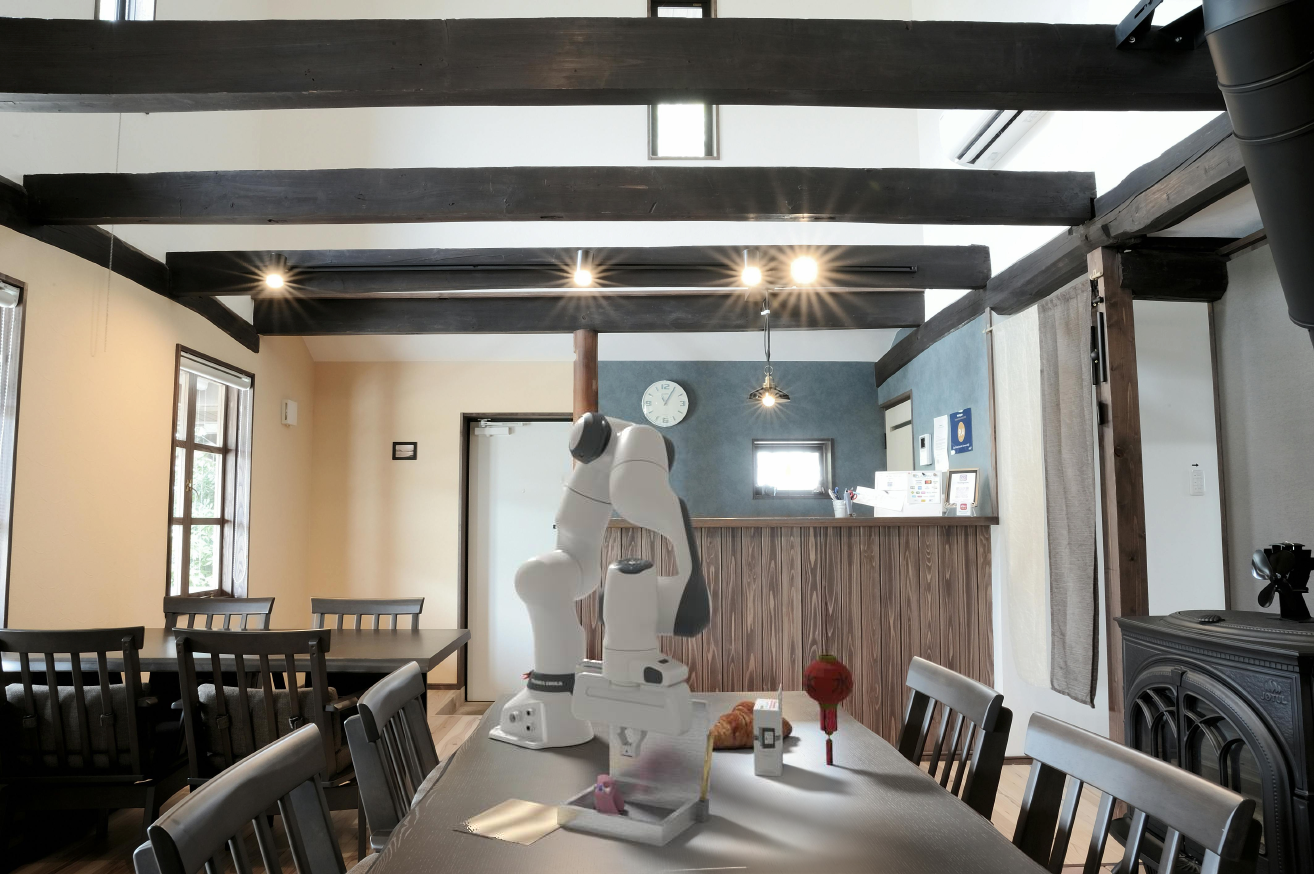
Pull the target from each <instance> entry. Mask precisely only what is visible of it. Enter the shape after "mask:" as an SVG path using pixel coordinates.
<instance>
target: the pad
mask: <svg viewBox="0 0 1314 874" xmlns="http://www.w3.org/2000/svg"><path fill="white" fill-rule="evenodd" d="M467 821H468V822H469V824H468V822H467ZM464 822H466V824H467V825H469V826H468V827H469V828H470V829H471V830H472V831H473V829H474V831H473V833H477V834H480V835H484V836H488V837H496V838H497V839H496V840H500V839H502V840H501V841H504V840H505V841H506V842H509V843H513V842H515V843H514V844H517V842H519V844H518V845H521V846H522V845H523V846H526V845H527V847H528V846H530V845H532V844H533V843H535V842H537V841H538V840H541V839H542V838H544V837H546V836H548V835H549V834H551V833H553V832H555V831H556V830H558V829H560V828H561V827H564V826H563V825H561V824H557V806H552V805H546V804H541V803H536V802H532V801H528V800H527V801H526V800H521V799H519V798H518V799H517V798H513V797H511V798H510V799H507V800H505V801H504V802H502V803H499V804H498V805H495V806H493V807H491V808H489V809H487V810H485V811H483V812H482V813H479V814H478V815H475V816H473V817H471V818H469V819H466V820H465V821H463V822H461V823H460V824H462V823H463V824H464V825H465V823H464ZM470 826H471V827H470ZM468 827H467V829H468ZM476 829H477V830H476ZM469 831H470V830H469ZM470 832H471V831H470ZM498 837H499V838H498ZM505 841H504V842H505Z"/></svg>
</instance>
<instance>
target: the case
mask: <svg viewBox="0 0 1314 874" xmlns="http://www.w3.org/2000/svg"><path fill="white" fill-rule="evenodd" d="M692 712H693V722H692V727H691V728H690V729H689V731H688V732H686V733H685V734H683V735H681V736H673V735H667V734H661V733H655V732H650V731H647V735H646V737H645V739H644V741H643V742H642V744H641V754H640V756H639V757H638V758H631V757H627V756H621V755H619V744H618V742H617V740H616V738H615V736H614V734H613V725H609V776H610V775H611V778H613V779H614V781H615V783H616V787H617V789H618V791H619V793H620V794H621V796H622V798H623V800H624V802H630V803H635V804H640V805H646V806H651V807H656V808H662V809H668V810H673V812H672V813H670V814H669V815H668V816H667V817H666V818H663V820H661V821H659V822H656V821H652V820H650V821H649V820H647V819H646V820H645V819H641V818H635V817H630V816H627V815H622V814H620V815H617V814H612V813H607V812H602V811H597V810H596V805H595V791H594V790H593V786H594V784H595V786H596V784H597V783H594V784H593V785H592V786H590V787H588V788H586V789H584V790H582V791H581V792H578V793H577V794H575V795H573V796H572V797H570V798H568V799H566V800H564V801H562V802H561V803H558V804H557V805H556V807H557V824H561V825H563V826H562V827H565V828H570V829H575V830H580V831H583V832H589V833H593V834H599V835H603V836H607V837H612V838H618V839H622V840H627V841H628V840H629V841H633V842H637V843H641V844H648V845H652V846H658V847H664V846H665V845H666V844H667V843H670V842H671V841H672V840H673V839H675V838H676V837H677V836H679V835H680V834H681V833H683V832H685V830H687V829H688V828H690V827H691V826H692V825H694V824H695V823H701V824H704V823H705V822H707V821H708V820H709V819H710V812H709V811H710V799H709V798H708V794H709V793H710V792H711V764H712V757H713V750H714V749H713V743H714V735H713V734H709V730H710V701H709V700H703V699H702V700H701V699H696V698H695V699H694V698H692ZM625 734H626V736H627V739H628V742H631V743H633V742H634V740H635V738H636V736H633V729H632V728H627V730H625Z"/></svg>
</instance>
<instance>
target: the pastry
mask: <svg viewBox="0 0 1314 874" xmlns="http://www.w3.org/2000/svg"><path fill="white" fill-rule="evenodd" d="M755 703H756V702H753V701H749V700H748V701H747V700H746V701H741V702H739V703H738V704H736V705H735V706H734V707H733V708H732V710H731V712H728V713H724V714H722V715H720V716H719V718H718V721H717V722H716V723H715V724H714V725H713V728H711V729H710V728H709V734H713V735H714V743H713V750H736V749H740V748H741V749H754V717H753V709H754V706H755ZM793 729H794V728H793V726H792V724H791V722H789V720H787V718H785V717H783V716H782V736H783V739H784V738H787V737H790V735H791V734H792V733H793Z"/></svg>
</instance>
